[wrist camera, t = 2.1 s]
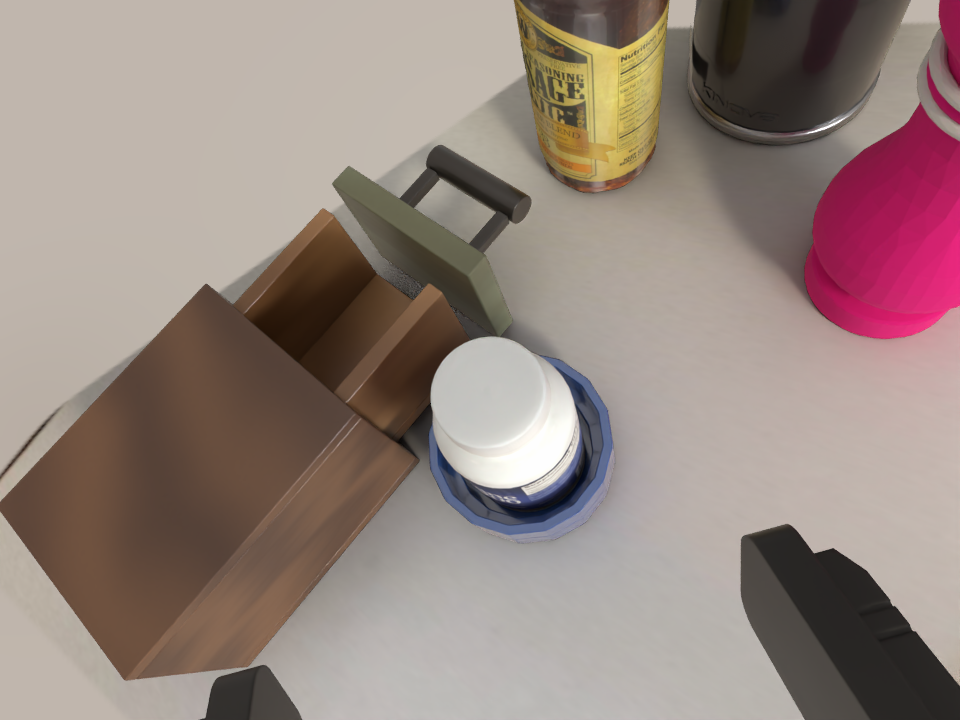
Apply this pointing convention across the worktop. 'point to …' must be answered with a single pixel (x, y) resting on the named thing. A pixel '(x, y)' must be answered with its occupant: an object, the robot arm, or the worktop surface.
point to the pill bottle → (508, 424)
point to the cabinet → (202, 496)
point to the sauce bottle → (594, 85)
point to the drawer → (386, 291)
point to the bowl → (564, 513)
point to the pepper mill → (897, 213)
